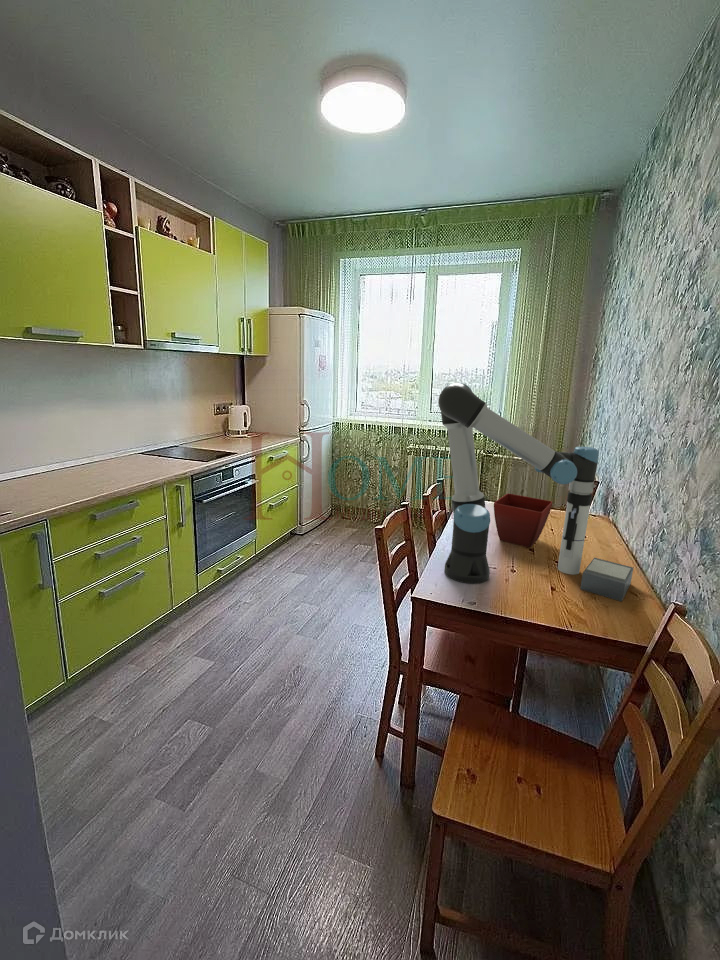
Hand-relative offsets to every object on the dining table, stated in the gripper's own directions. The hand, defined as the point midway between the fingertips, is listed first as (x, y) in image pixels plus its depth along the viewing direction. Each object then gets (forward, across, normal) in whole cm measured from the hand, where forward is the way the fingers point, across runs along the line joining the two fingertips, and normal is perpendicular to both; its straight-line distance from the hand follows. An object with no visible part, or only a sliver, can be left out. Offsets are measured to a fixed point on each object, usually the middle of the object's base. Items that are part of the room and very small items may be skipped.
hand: (570, 554), depth 157 cm
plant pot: (+6, +17, +24) cm, 30 cm away
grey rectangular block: (+6, -5, -13) cm, 15 cm away
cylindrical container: (+6, 0, 0) cm, 6 cm away
